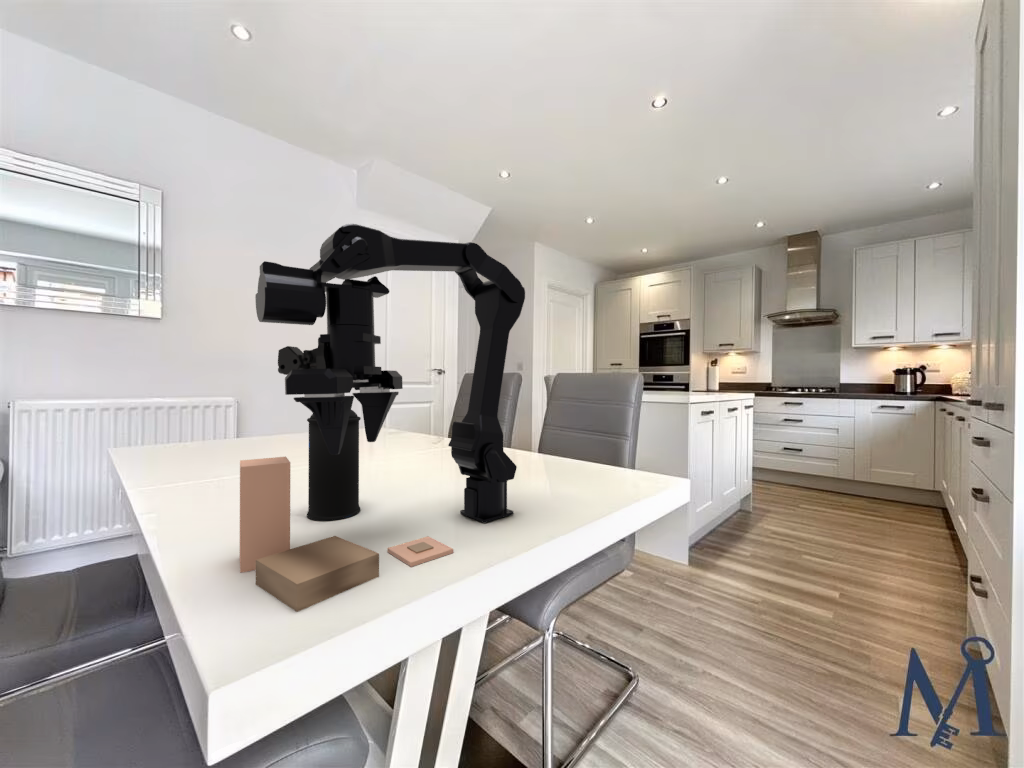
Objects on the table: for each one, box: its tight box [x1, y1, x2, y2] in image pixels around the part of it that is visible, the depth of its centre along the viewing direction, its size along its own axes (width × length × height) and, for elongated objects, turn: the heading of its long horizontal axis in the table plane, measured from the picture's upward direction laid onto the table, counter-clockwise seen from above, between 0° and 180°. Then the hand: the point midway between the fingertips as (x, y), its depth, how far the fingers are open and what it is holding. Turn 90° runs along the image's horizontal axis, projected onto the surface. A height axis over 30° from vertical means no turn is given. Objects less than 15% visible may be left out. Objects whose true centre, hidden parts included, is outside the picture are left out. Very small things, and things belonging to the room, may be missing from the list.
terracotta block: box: [239, 456, 291, 574], centre depth 50 cm, size 5×5×12 cm
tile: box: [386, 535, 454, 568], centre depth 52 cm, size 6×6×1 cm
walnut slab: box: [255, 535, 380, 613], centre depth 45 cm, size 9×9×3 cm
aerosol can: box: [306, 409, 362, 522], centre depth 69 cm, size 8×8×20 cm
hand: (354, 447), depth 54 cm, fingers open, 9 cm apart
